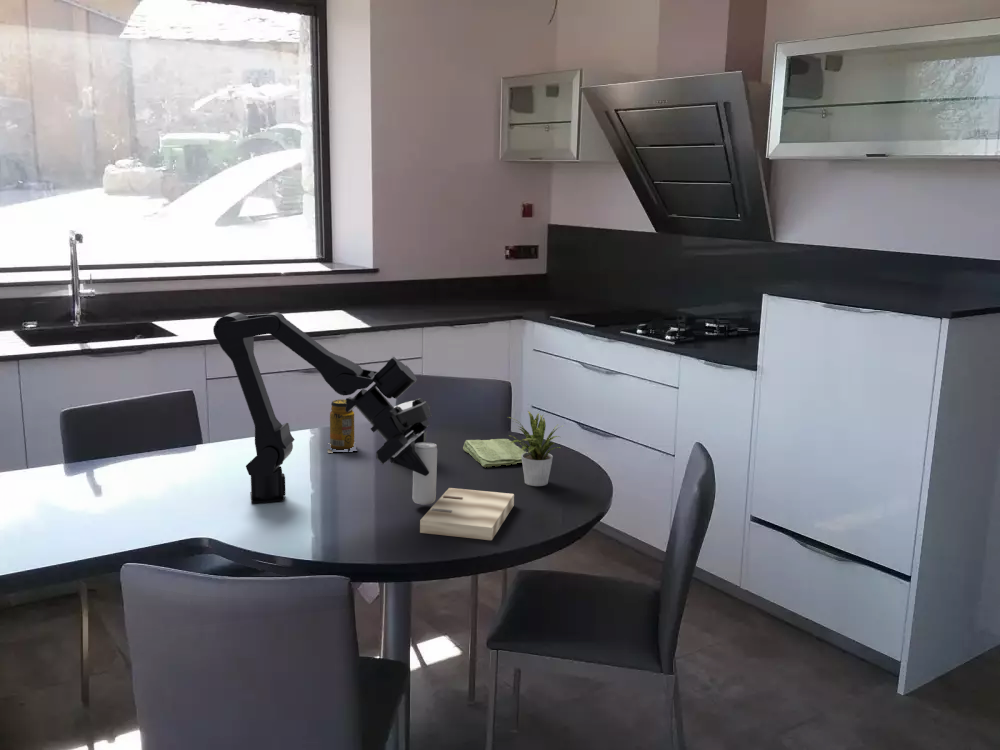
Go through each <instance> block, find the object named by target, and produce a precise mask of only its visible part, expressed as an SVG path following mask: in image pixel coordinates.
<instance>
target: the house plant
mask: <svg viewBox="0 0 1000 750" xmlns="http://www.w3.org/2000/svg"><path fill="white" fill-rule="evenodd" d="M527 412H528V415H529V422H530V428H531V431H532V434H530V433H529V432H528V431H527V429H525V428H524V426H523V425H522V424H521V422H520V421H518V419H515V418H513V417H510V416H508V418H509V419H513V420H514V421H513V420H512V422H514V423H517V424H519V425H520V426H518V425H517V427H518V428H519V431H520V432H521V433H523V435H524V436H525V438H522V439H521V440H519V439H518V438H516V437H515V436H512V435H507V436H509V437H512V439H513V438H514V440H511V443H514V444H515V443H518V444H519V445H521V451H522V450H524V451H526V453H523V454H522V455H521V457H522V469H523V470H522V471H523V478H524V484H526V485H527V486H531V487H543V486H547V485H548V483H549V477H550V473H551V470H552V469H551V468H552V463H553V459H554V458H553V457H554V456H553V455H552V454H551V453H550V452H551V451H552V450H554V449H558V448H559V449H561V446H556V447H552V446H553V445H555V443H554V442H553V441H552V440H554V439H555V438H560V436H559V435H554V433H555V432H556V431H557V430H559V429H560V428H561V427H563V425H561V426H560V427H558V425H556V426H555V427H554V429H552V431H551V432H550V433H549V434H548V436H547V438H546V439H545V440H544V438H545V432H546V420H545V417H544V415H545V413H544V414H542V415H541V414H540V413H539V412H538V413H537V414H536V416H535V417H534V416H533V414H532V413H531V412H530V411H529V410H527ZM553 435H554V436H553ZM525 441H526V442H528V444H529V445H528V444H527V443H526V442H525ZM511 443H510V444H511ZM510 444H509V445H510ZM551 447H552V448H551Z"/></svg>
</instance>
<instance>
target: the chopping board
mask: <svg viewBox="0 0 1000 750" xmlns="http://www.w3.org/2000/svg"><path fill="white" fill-rule="evenodd" d="M514 505H515V494H514V493H508V492H507V493H506V492H497V491H487V490H475V489H465V488H454V487H448V489H447V490H446V491H444V493H443V494H442V495H441V496H440V497H439V498H438V499H437V500H436V501H435V502H434V503H433V505H432V506H431V507H430V509H429V510H428V511H427V512H426V513H425V514H424V515H423V516H422V517H421V519H420V520H419V533H420V534H429V535H437V536H438V535H440V536H448V537H454V538H455V537H458V538H465V539H466V538H467V539H475V540H485V541H493V539H494V538H495V536H496V535H497V533H498V531H499V530H500V528H501V527H502V525H503V523H504V522H505V520H506V519H507V517H508V515H509V513H511V510H512V509H513V507H514Z"/></svg>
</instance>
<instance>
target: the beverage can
mask: <svg viewBox="0 0 1000 750" xmlns="http://www.w3.org/2000/svg"><path fill="white" fill-rule="evenodd" d="M437 447H438V446H437V444H436V443H433V442H428V441H426V442H421V443H416V444H415V452H416V453H417V455H418V456H419V457H420V459H421V460H422V462H423V463H424V465H425V466H426V468H427V469H428V471H429V474H428V475H427V476H424V475H422V474H419V473H417V472H415V471H413V470H412V502H414V503H415V504H417V505H420V506H421V505H423V506H425V505H432V504H435V503H436V501H437V500H436V498H437V497H436V495H437V473H438V472H437V469H438V467H437V466H438V448H437Z"/></svg>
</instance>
